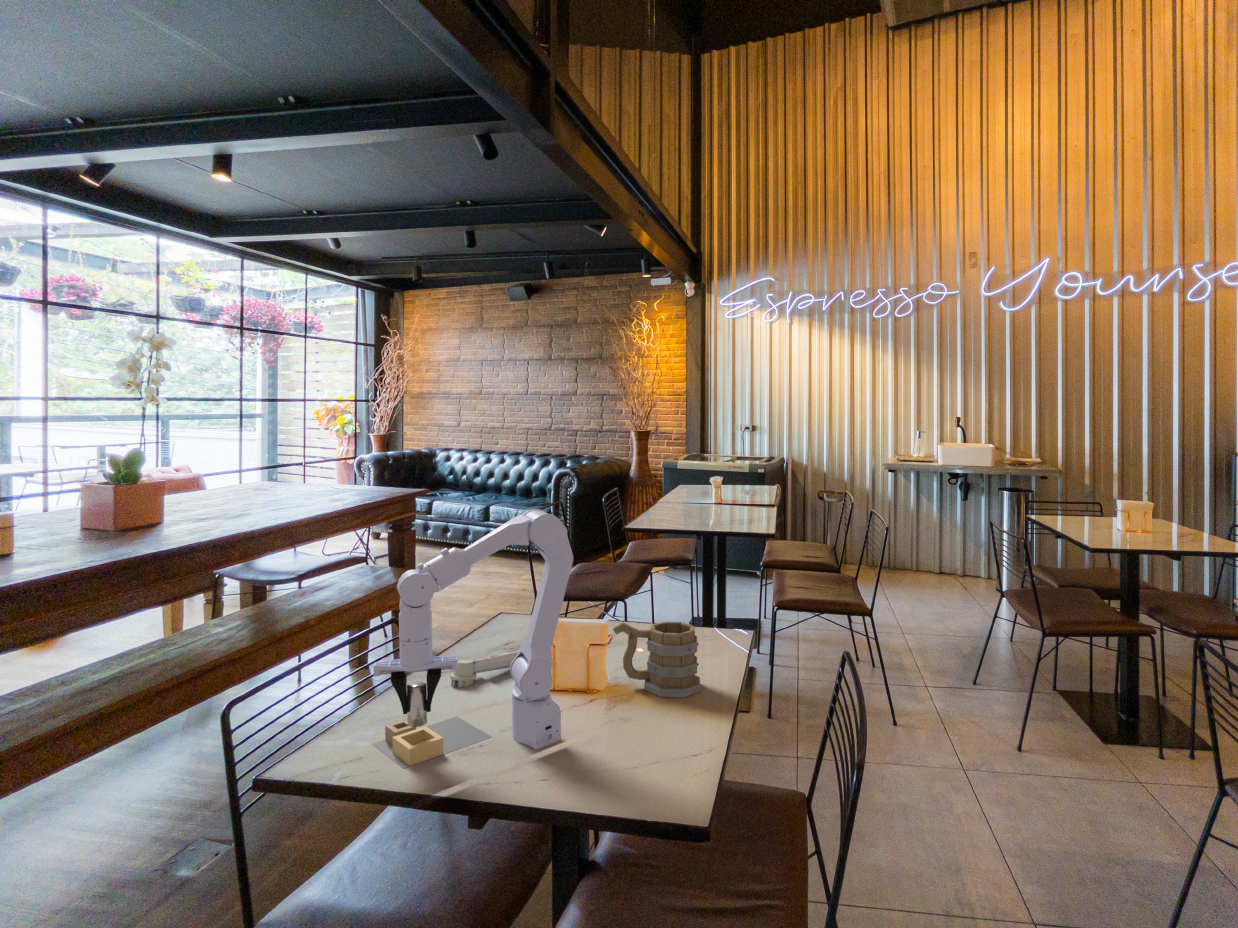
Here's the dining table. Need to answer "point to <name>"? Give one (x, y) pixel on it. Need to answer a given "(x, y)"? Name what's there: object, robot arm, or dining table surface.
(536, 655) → the robot arm
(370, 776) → the dining table surface
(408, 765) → the fitting board
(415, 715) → the metal round peg
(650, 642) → the tankard
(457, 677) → the toothbrush head
